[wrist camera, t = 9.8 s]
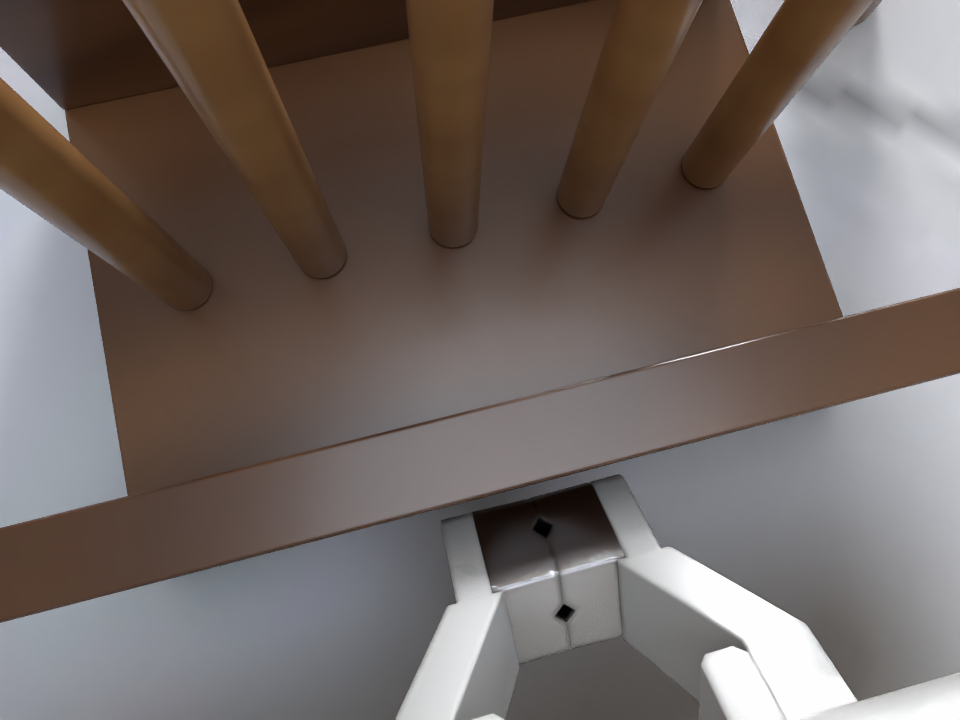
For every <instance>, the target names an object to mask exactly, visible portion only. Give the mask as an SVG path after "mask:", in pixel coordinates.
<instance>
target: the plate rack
mask: <svg viewBox="0 0 960 720" xmlns="http://www.w3.org/2000/svg"><path fill="white" fill-rule="evenodd" d="M873 1H874V0H785V1H784V3H783V4H782V6H781V7H780V9H779V10H778V12H777V13H776V15H775V16H774V18H773V19H772V21H771V23H770V24H769V26H768V27H767V29H766V30H765V32H764V33H763V35H762V36H761V38H760V39H759V41H758V43H757V44H756V46H755V47H754V49H753V50H752V52H751V53H750V55H749V53H748V50H747V47H746V45H745V42H744V39H743V36H742V33H741V31H740V28H739V25H738V22H737V19H736V17H735V14H734V11H733V8H732V5H731V3H730V0H0V47H1V48H2V49H3V50H4V51H5V52H6V53H7V54H8V55H9V56H10V57H11V58H12V59H13V60H14V61H15V62H16V63H17V64H18V65H19V66H20V67H21V68H22V69H23V70H24V71H25V72H26V73H27V74H28V75H29V76H30V77H31V78H32V79H33V80H34V81H35V82H36V83H37V84H38V85H39V86H40V87H41V88H42V89H43V90H44V91H45V92H46V93H47V94H48V95H49V96H50V97H51V98H52V99H53V100H54V101H55V102H56V103H57V104H58V105H59V106H60V107H61V108H62V109H64V110H65V114H66V120H67V127H68V133H69V139H70V142H69V141H68V140H67V139H66V138H65V137H64V136H62V135H61V134H60V133H59V132H58V131H57V130H56V129H55V128H54V127H53V126H52V125H51V124H50V123H48V122H47V121H46V120H45V119H44V118H43V117H42V116H41V115H40V114H39V113H38V112H37V111H36V110H35V109H33V108H32V107H31V106H30V105H29V104H28V103H27V102H26V101H25V100H24V99H23V98H22V97H21V96H20V95H18V94H17V93H16V92H15V91H14V90H13V89H12V88H11V87H10V86H9V85H8V84H7V83H6V82H5V81H3V80H2V79H1V78H0V189H2V190H3V191H4V192H6V193H7V194H9V195H10V196H12V197H13V198H15V199H16V200H18V201H19V202H20V203H22V204H23V205H25V206H26V207H28V208H29V209H31V210H32V211H33V212H35V213H36V214H38V215H39V216H41V217H42V218H44V219H45V220H47V221H48V222H49V223H51V224H52V225H54V226H55V227H57V228H58V229H60V230H61V231H62V232H64V233H65V234H67V235H68V236H70V237H71V238H73V239H74V240H76V241H77V242H78V243H80V244H81V245H83V246H84V247H86V248H87V249H88V255H89V261H90V267H91V274H92V280H93V286H94V292H95V298H96V304H97V310H98V316H99V322H100V329H101V335H102V341H103V347H104V353H105V359H106V365H107V371H108V378H109V384H110V390H111V396H112V402H113V408H114V414H115V420H116V427H117V433H118V439H119V445H120V451H121V457H122V463H123V469H124V476H125V482H126V488H127V494H128V496H126V497H122V498H118V499H114V500H110V501H106V502H102V503H98V504H94V505H90V506H86V507H82V508H78V509H74V510H70V511H66V512H62V513H58V514H54V515H50V516H46V517H42V518H38V519H34V520H30V521H26V522H22V523H18V524H14V525H10V526H6V527H2V528H0V623H2V622H6V621H9V620H13V619H17V618H21V617H25V616H29V615H33V614H36V613H40V612H44V611H48V610H52V609H56V608H59V607H63V606H67V605H71V604H75V603H79V602H82V601H86V600H90V599H94V598H98V597H102V596H106V595H109V594H113V593H117V592H121V591H125V590H129V589H132V588H136V587H140V586H144V585H148V584H152V583H155V582H159V581H163V580H167V579H171V578H175V577H178V576H182V575H186V574H190V573H194V572H198V571H202V570H205V569H209V568H213V567H217V566H221V565H225V564H228V563H232V562H236V561H240V560H244V559H248V558H251V557H255V556H259V555H263V554H267V553H271V552H275V551H278V550H282V549H286V548H290V547H294V546H298V545H301V544H305V543H309V542H313V541H317V540H321V539H324V538H328V537H332V536H336V535H340V534H344V533H348V532H351V531H355V530H359V529H363V528H367V527H371V526H374V525H378V524H382V523H386V522H390V521H394V520H397V519H401V518H405V517H409V516H413V515H417V514H421V513H424V512H428V511H432V510H436V509H440V508H444V507H447V506H451V505H455V504H459V503H463V502H467V501H470V500H474V499H478V498H482V497H486V496H490V495H494V494H497V493H501V492H505V491H509V490H513V489H517V488H520V487H524V486H528V485H532V484H536V483H540V482H543V481H547V480H551V479H555V478H559V477H563V476H567V475H570V474H574V473H578V472H582V471H586V470H590V469H593V468H597V467H601V466H605V465H609V464H613V463H616V462H620V461H624V460H628V459H632V458H636V457H639V456H643V455H647V454H651V453H655V452H659V451H663V450H666V449H670V448H674V447H678V446H682V445H686V444H689V443H693V442H697V441H701V440H705V439H709V438H712V437H716V436H720V435H724V434H728V433H732V432H736V431H739V430H743V429H747V428H751V427H755V426H759V425H762V424H766V423H770V422H774V421H778V420H782V419H785V418H789V417H793V416H797V415H801V414H805V413H809V412H812V411H816V410H820V409H824V408H828V407H832V406H835V405H839V404H843V403H847V402H851V401H855V400H858V399H862V398H866V397H870V396H874V395H878V394H882V393H885V392H889V391H893V390H897V389H901V388H905V387H908V386H912V385H916V384H920V383H924V382H928V381H931V380H935V379H939V378H943V377H947V376H951V375H955V374H958V373H960V288H957V289H953V290H949V291H945V292H941V293H937V294H933V295H929V296H925V297H921V298H917V299H913V300H909V301H905V302H901V303H897V304H893V305H889V306H885V307H881V308H877V309H873V310H869V311H865V312H861V313H857V314H853V315H849V316H845V317H843V315H842V312H841V310H840V307H839V304H838V301H837V299H836V296H835V293H834V290H833V287H832V285H831V282H830V279H829V276H828V273H827V271H826V268H825V265H824V262H823V259H822V257H821V254H820V251H819V248H818V246H817V243H816V240H815V237H814V234H813V232H812V229H811V226H810V223H809V220H808V218H807V215H806V212H805V209H804V206H803V204H802V201H801V198H800V195H799V192H798V190H797V187H796V184H795V181H794V179H793V176H792V173H791V170H790V167H789V165H788V162H787V159H786V156H785V153H784V151H783V148H782V145H781V142H780V139H779V137H778V134H777V131H776V128H775V125H774V123H773V122H774V120H775V119H776V118H777V117H778V115H779V114H780V113H781V112H782V111H783V109H784V108H785V107H786V106H787V105H788V103H789V102H790V101H791V100H792V99H793V97H794V96H795V95H796V94H797V93H798V91H799V90H800V89H801V88H802V86H803V85H804V84H805V83H806V82H807V80H808V79H809V78H810V77H811V76H812V74H813V73H814V72H815V71H816V70H817V68H818V67H819V66H820V65H821V64H822V62H823V61H824V60H825V59H826V57H827V56H828V55H829V54H830V53H831V51H832V50H833V49H834V48H835V47H836V45H837V44H838V43H839V42H840V41H841V39H842V38H843V37H844V36H845V35H846V33H847V32H848V31H849V30H850V28H851V27H852V26H853V25H854V24H855V22H856V21H857V20H858V19H859V18H860V16H861V15H862V14H863V13H864V12H865V10H866V9H867V8H868V7H869V6H870V4H871V3H872V2H873Z"/></svg>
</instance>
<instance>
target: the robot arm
mask: <svg viewBox="0 0 960 720" xmlns="http://www.w3.org/2000/svg"><path fill="white" fill-rule="evenodd" d="M472 515H473V517H472ZM473 519H474V520H473ZM441 530H442V535H443V539H444V544H445V549H446V554H447V559H448V564H449V569H450V574H451V579H452V584H453V589H454V594H455V599H456V603H455V604H452V605H448V606H447V608H446V610H445V612H444V614H443V617H442V619H441V621H440V623H439V625H438V627H437V630H436V632H435V634H434V636H433V638H432V640H431V643H430V645H429V647H428V649H427V651H426V653H425V656H424V658H423V660H422V662H421V664H420V666H419V669H418V671H417V673H416V675H415V677H414V680H413V682H412V684H411V686H410V688H409V690H408V693H407V695H406V697H405V699H404V701H403V703H402V706H401V708H400V710H399V712H398V714H397V716H396V719H395V720H505V718H506V715H507V711H508V708H509V704H510V701H511V697H512V694H513V690H514V687H515V683H516V680H517V676H518V673H519V669H520V667H519V665H520V664H523V663H527V662H530V661H533V660H536V659H540V658H543V657H546V656H549V655H553V654H556V653H559V652H562V651H566V650H569V649H573V648H577V647H581V646H585V645H589V644H593V643H597V642H601V641H605V640H609V639H613V638H617V637H621V636H623V639H624V640H625V641H627V642H628V643H629V644H630V645H631V646H633V647H634V648H635V649H636V650H637V651H639V652H640V653H641V654H642V655H643V656H645V657H646V658H647V659H648V660H649V661H651V662H652V663H653V664H654V665H655V666H657V667H658V668H659V669H660V670H661V671H663V672H664V673H665V674H666V675H667V676H669V677H670V678H671V679H672V680H673V681H675V682H676V683H677V684H678V685H680V686H681V687H682V688H683V689H684V690H686V691H687V692H688V693H689V694H690V695H692V696H693V697H694V698H695V699H696V700H698V701H699V702H700V710H699V720H960V672H958V673H955V674H951V675H948V676H944V677H941V678H938V679H934V680H931V681H927V682H924V683H920V684H917V685H913V686H910V687H907V688H903V689H900V690H896V691H893V692H889V693H886V694H882V695H879V696H875V697H872V698H869V699H865V700H862V701H857V699H856V698H855V696H854V695H853V693H852V692H851V690H850V689H849V687H848V686H847V684H846V683H845V681H844V680H843V678H842V677H841V675H840V674H839V672H838V671H837V669H836V668H835V666H834V665H833V663H832V662H831V660H830V659H829V657H828V656H827V654H826V653H825V651H824V650H823V648H822V647H821V645H820V644H819V642H818V641H817V639H816V638H815V636H814V635H813V633H812V632H811V630H810V629H809V627H808V626H807V624H805V623H804V622H802V621H800V620H798V619H797V618H795V617H793V616H792V615H790V614H788V613H786V612H785V611H783V610H781V609H779V608H778V607H776V606H774V605H772V604H771V603H769V602H767V601H765V600H764V599H762V598H760V597H758V596H757V595H755V594H753V593H751V592H750V591H748V590H746V589H744V588H743V587H741V586H739V585H737V584H736V583H734V582H732V581H730V580H729V579H727V578H725V577H723V576H722V575H720V574H718V573H716V572H715V571H713V570H711V569H709V568H708V567H706V566H704V565H702V564H701V563H699V562H697V561H695V560H694V559H692V558H690V557H689V556H687V555H685V554H683V553H682V552H680V551H678V550H676V549H675V548H673V547H671V546H669V547H664V548H661V547H660V545H659V543H658V541H657V539H656V537H655V535H654V534H653V532H652V530H651V528H650V526H649V524H648V522H647V520H646V519H645V517H644V515H643V513H642V511H641V509H640V507H639V505H638V503H637V502H636V500H635V498H634V496H633V494H632V492H631V490H630V488H629V487H628V485H627V483H626V481H625V479H624V478H623V477H622V476H621V475H620V474H618V475H614V476H610V477H607V478H603V479H599V480H595V481H592V482H590V483H584V484H580V485H576V486H573V487H569V488H565V489H562V490H558V491H554V492H551V493H547V494H543V495H540V496H536V497H532V498H531V499H527V500H522V501H518V502H514V503H510V504H505V505H501V506H497V507H492V508H488V509H484V510H480V511H475V512H472V514H471V513H469V514H465V515H461V516H457V517H452V518H448V519H444V520H441Z"/></svg>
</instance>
